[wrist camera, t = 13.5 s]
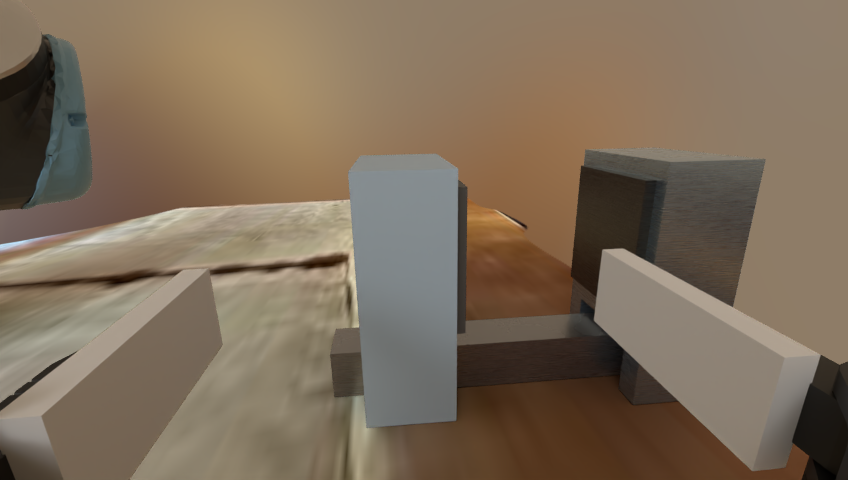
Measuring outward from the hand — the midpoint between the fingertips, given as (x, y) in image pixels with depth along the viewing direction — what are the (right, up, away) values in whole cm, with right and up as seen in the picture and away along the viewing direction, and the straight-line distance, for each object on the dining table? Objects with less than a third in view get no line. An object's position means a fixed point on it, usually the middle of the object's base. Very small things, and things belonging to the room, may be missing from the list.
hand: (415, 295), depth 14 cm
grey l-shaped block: (+6, -7, +13) cm, 16 cm away
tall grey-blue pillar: (-1, -7, +13) cm, 15 cm away
